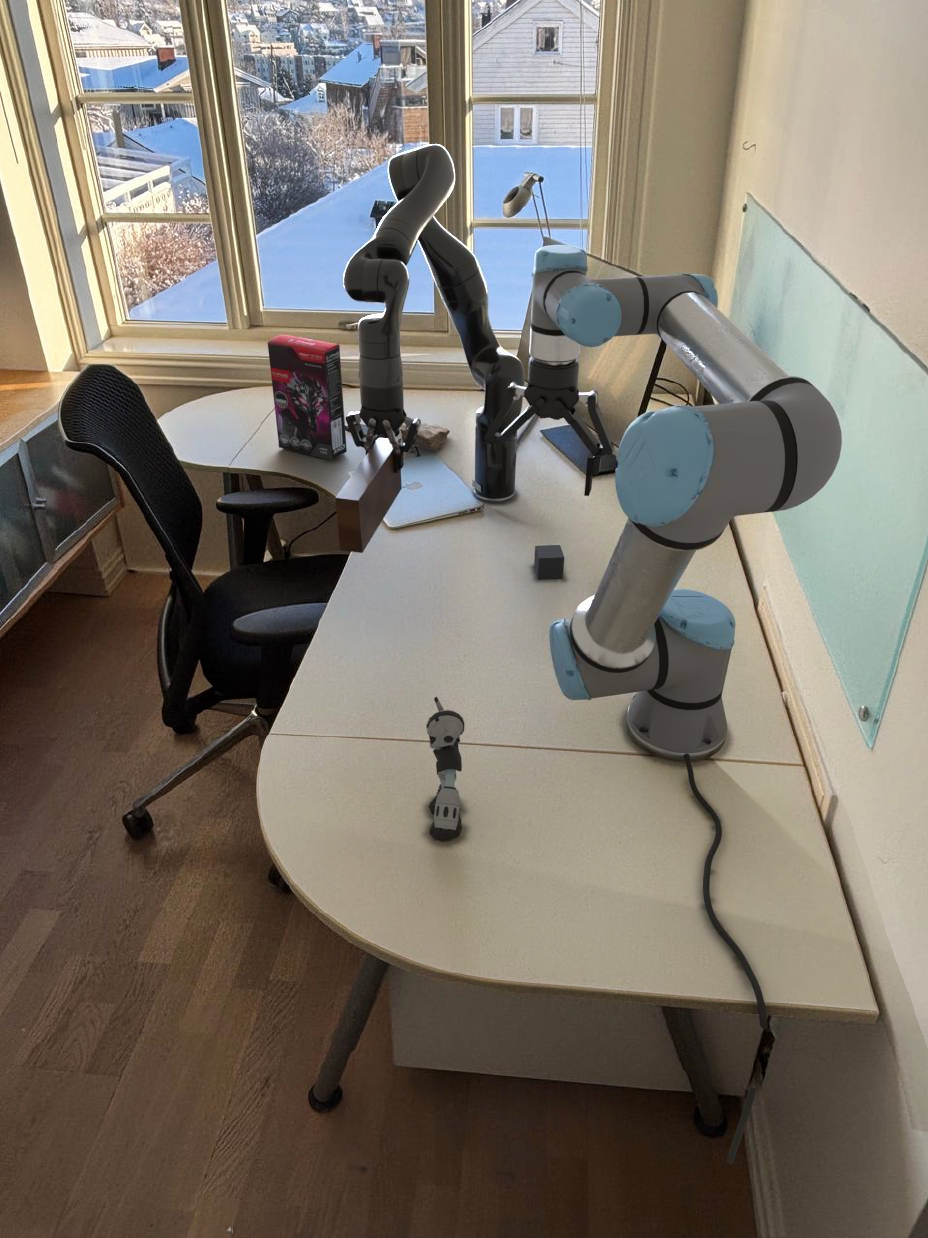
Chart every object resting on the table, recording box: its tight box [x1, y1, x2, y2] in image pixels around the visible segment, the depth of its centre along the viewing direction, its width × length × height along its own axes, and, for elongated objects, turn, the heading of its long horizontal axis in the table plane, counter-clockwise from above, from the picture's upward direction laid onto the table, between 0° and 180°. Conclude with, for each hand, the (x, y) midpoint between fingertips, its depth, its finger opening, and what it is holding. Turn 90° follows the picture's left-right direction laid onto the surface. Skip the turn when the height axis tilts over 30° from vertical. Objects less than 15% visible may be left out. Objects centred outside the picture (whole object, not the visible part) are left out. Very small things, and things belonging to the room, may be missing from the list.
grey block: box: [533, 544, 565, 581], centre depth 181 cm, size 5×5×5 cm
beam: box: [334, 437, 403, 554], centre depth 162 cm, size 24×4×10 cm, turn 167°
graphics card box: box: [267, 333, 348, 461], centre depth 223 cm, size 17×7×27 cm, turn 62°
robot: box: [425, 696, 465, 842], centre depth 121 cm, size 20×5×20 cm, turn 3°
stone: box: [400, 422, 451, 451], centre depth 235 cm, size 21×15×6 cm
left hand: (385, 469), depth 169 cm, fingers closed on beam, 4 cm apart
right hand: (546, 487), depth 149 cm, fingers open, 13 cm apart
